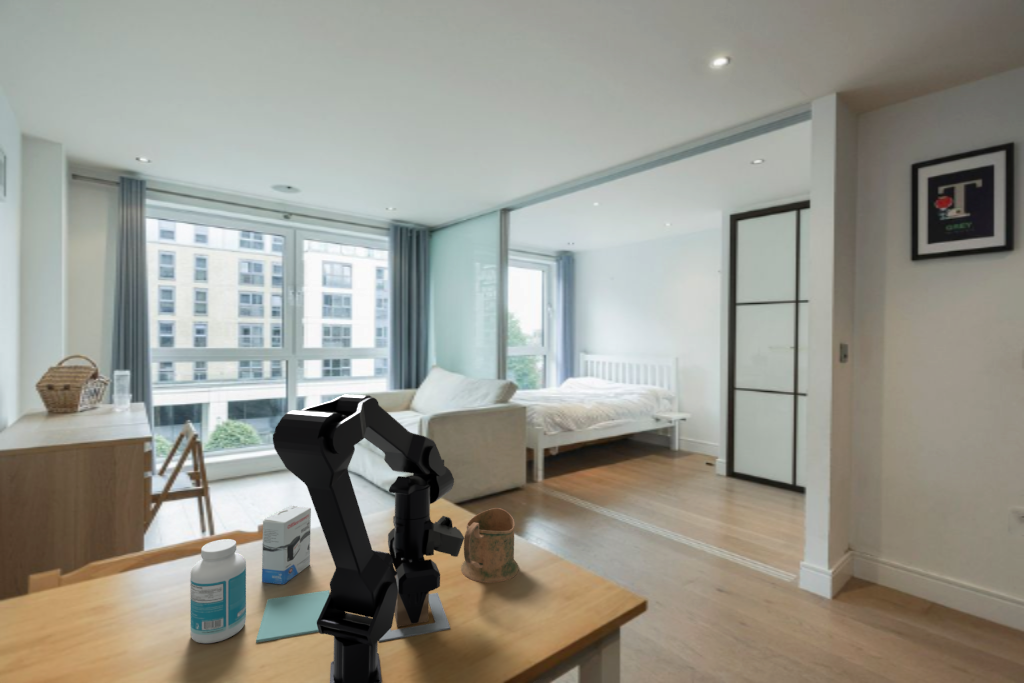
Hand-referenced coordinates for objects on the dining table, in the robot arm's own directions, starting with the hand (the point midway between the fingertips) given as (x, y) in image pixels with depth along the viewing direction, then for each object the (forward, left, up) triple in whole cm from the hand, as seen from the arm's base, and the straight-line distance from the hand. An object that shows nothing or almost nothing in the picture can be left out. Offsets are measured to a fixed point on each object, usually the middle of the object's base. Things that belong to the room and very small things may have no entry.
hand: (410, 607), depth 80 cm
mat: (+6, +18, -2) cm, 19 cm away
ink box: (+22, +21, -2) cm, 30 cm away
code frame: (0, 0, -2) cm, 2 cm away
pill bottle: (+5, +29, -2) cm, 29 cm away
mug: (+10, -15, -2) cm, 18 cm away
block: (0, 0, -1) cm, 1 cm away
